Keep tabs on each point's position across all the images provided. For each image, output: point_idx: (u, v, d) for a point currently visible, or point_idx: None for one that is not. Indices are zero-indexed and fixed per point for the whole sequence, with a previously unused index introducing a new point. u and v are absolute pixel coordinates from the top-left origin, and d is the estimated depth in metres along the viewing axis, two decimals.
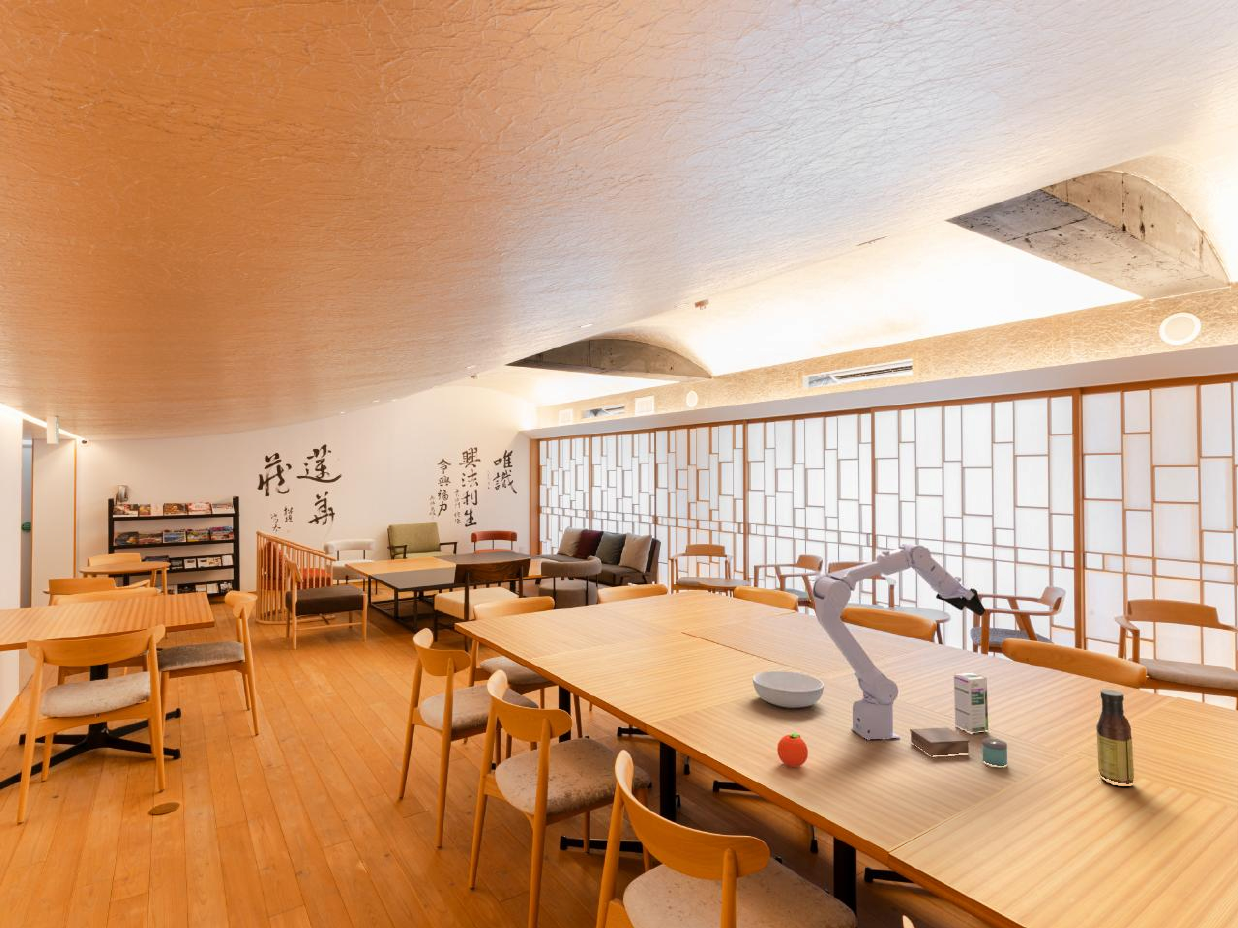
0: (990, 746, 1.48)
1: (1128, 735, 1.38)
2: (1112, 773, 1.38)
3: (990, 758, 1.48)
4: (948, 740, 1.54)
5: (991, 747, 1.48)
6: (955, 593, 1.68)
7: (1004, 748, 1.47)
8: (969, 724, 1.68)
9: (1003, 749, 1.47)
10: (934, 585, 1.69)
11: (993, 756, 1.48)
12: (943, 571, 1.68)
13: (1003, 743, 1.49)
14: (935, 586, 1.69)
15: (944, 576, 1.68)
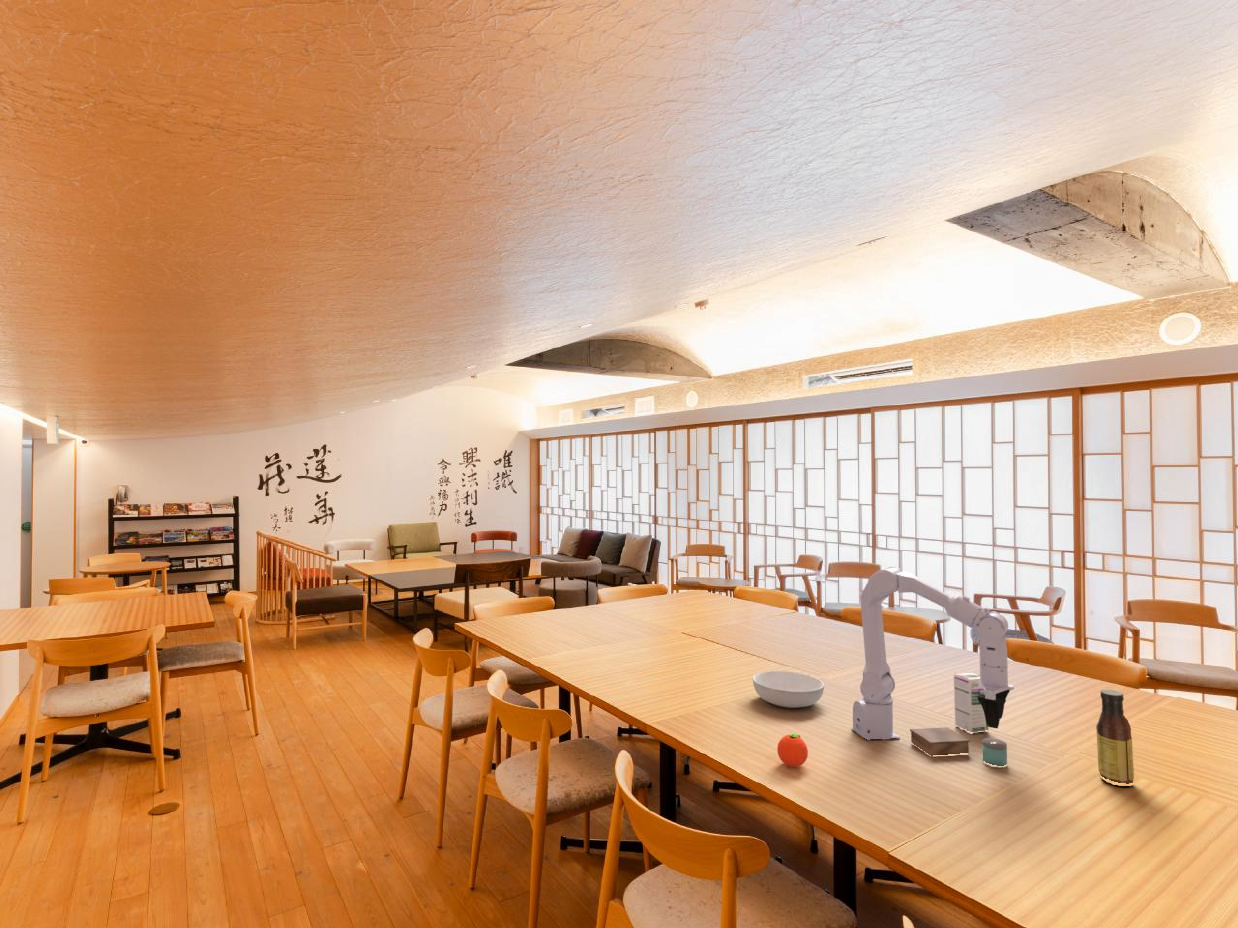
0: (990, 746, 1.48)
1: (1128, 735, 1.38)
2: (1112, 773, 1.38)
3: (990, 758, 1.48)
4: (948, 740, 1.54)
5: (991, 747, 1.48)
6: (987, 687, 1.48)
7: (1004, 748, 1.47)
8: (969, 724, 1.68)
9: (1003, 749, 1.47)
10: (980, 663, 1.51)
11: (993, 756, 1.48)
12: (998, 662, 1.48)
13: (1003, 743, 1.49)
14: (980, 664, 1.51)
15: (993, 665, 1.48)
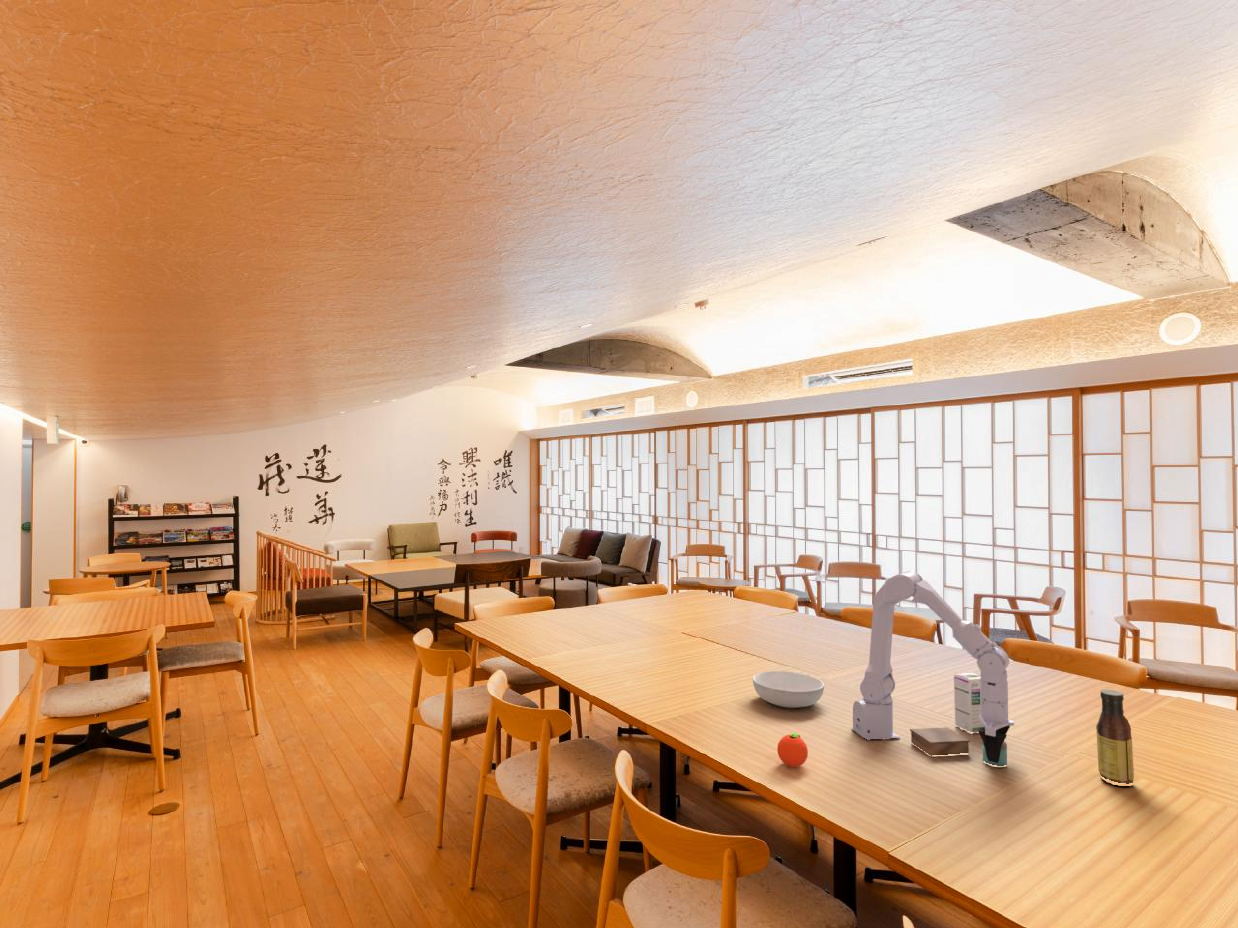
0: None
1: (1128, 735, 1.38)
2: (1112, 773, 1.38)
3: None
4: (948, 740, 1.54)
5: None
6: (988, 722, 1.48)
7: (1004, 748, 1.47)
8: (969, 724, 1.68)
9: (1003, 749, 1.47)
10: (980, 698, 1.51)
11: None
12: (999, 697, 1.47)
13: (1003, 743, 1.49)
14: (980, 699, 1.51)
15: (994, 701, 1.48)
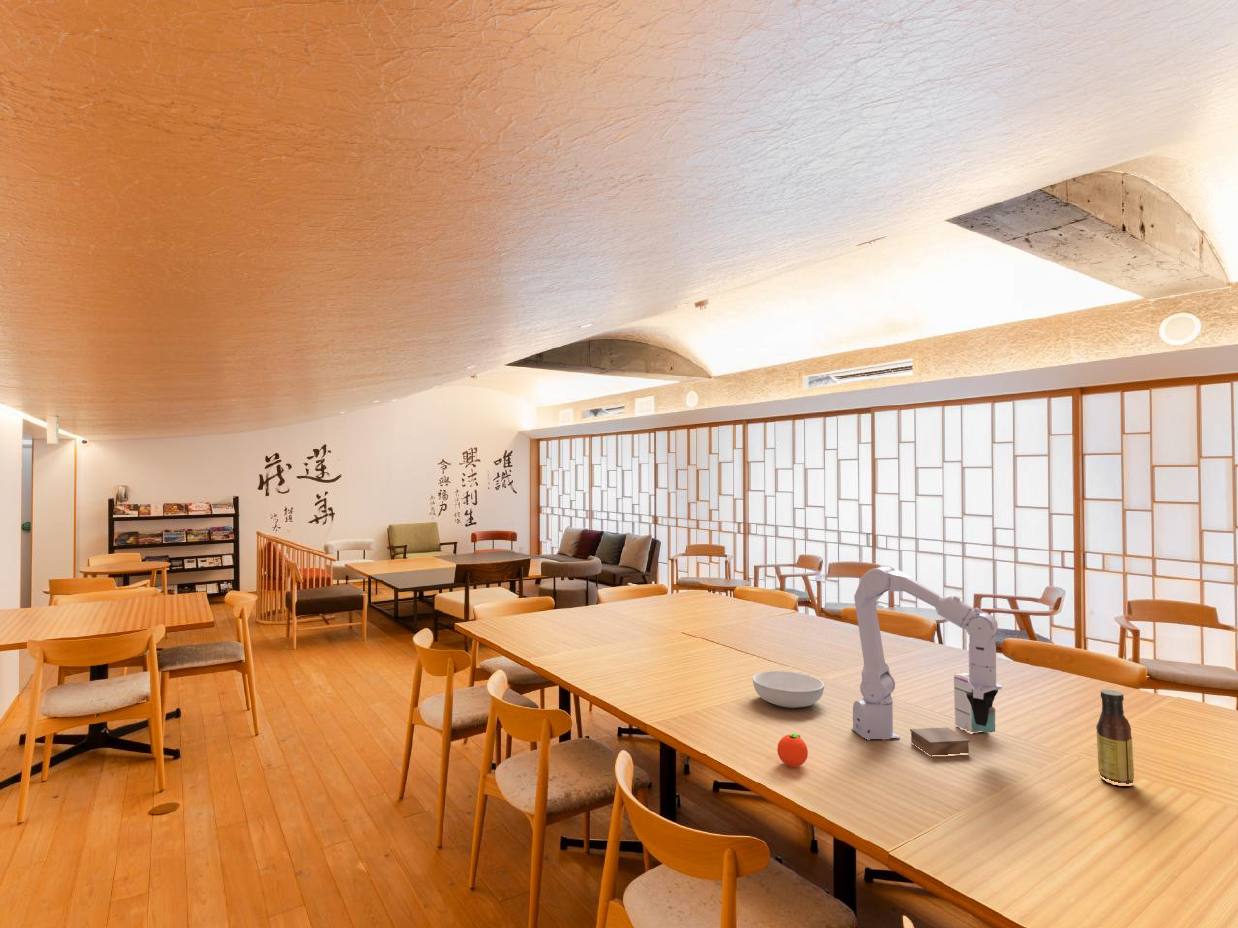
0: None
1: (1128, 735, 1.38)
2: (1112, 773, 1.38)
3: None
4: (948, 740, 1.54)
5: None
6: (976, 686, 1.50)
7: (992, 712, 1.49)
8: (969, 724, 1.68)
9: (992, 714, 1.49)
10: (969, 663, 1.52)
11: None
12: (987, 662, 1.49)
13: (992, 708, 1.51)
14: (969, 664, 1.52)
15: (982, 665, 1.49)
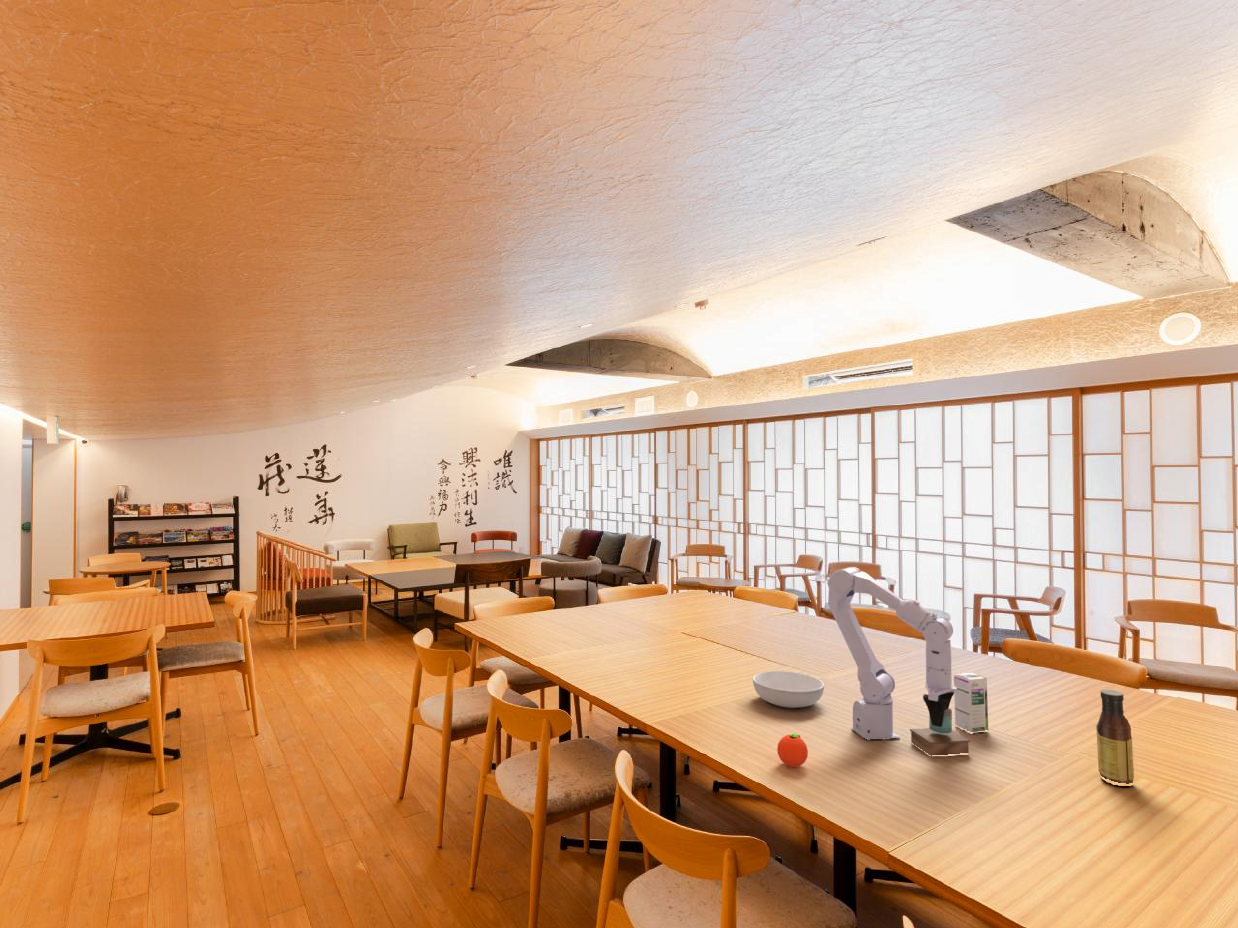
0: None
1: (1128, 735, 1.38)
2: (1112, 773, 1.38)
3: None
4: (948, 740, 1.54)
5: None
6: (932, 688, 1.56)
7: (949, 714, 1.55)
8: (969, 724, 1.68)
9: (948, 715, 1.55)
10: (926, 666, 1.59)
11: None
12: (942, 665, 1.55)
13: (948, 710, 1.57)
14: (926, 667, 1.59)
15: (938, 668, 1.55)
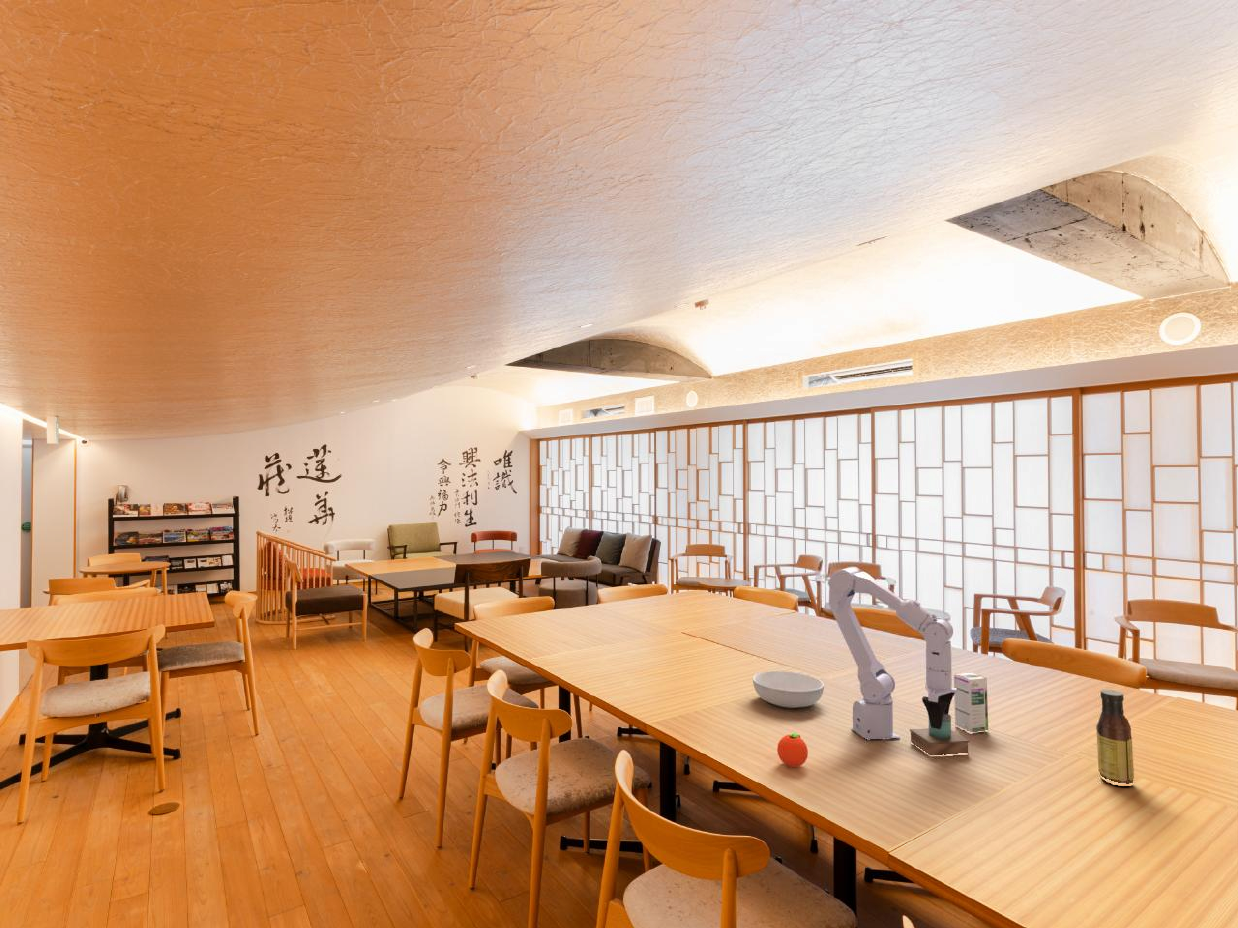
0: None
1: (1128, 735, 1.38)
2: (1112, 773, 1.38)
3: (934, 729, 1.56)
4: (948, 740, 1.54)
5: None
6: (932, 689, 1.56)
7: (948, 720, 1.55)
8: (969, 724, 1.68)
9: (947, 721, 1.55)
10: (926, 667, 1.59)
11: None
12: (942, 666, 1.55)
13: (948, 715, 1.57)
14: (926, 668, 1.59)
15: (938, 669, 1.55)
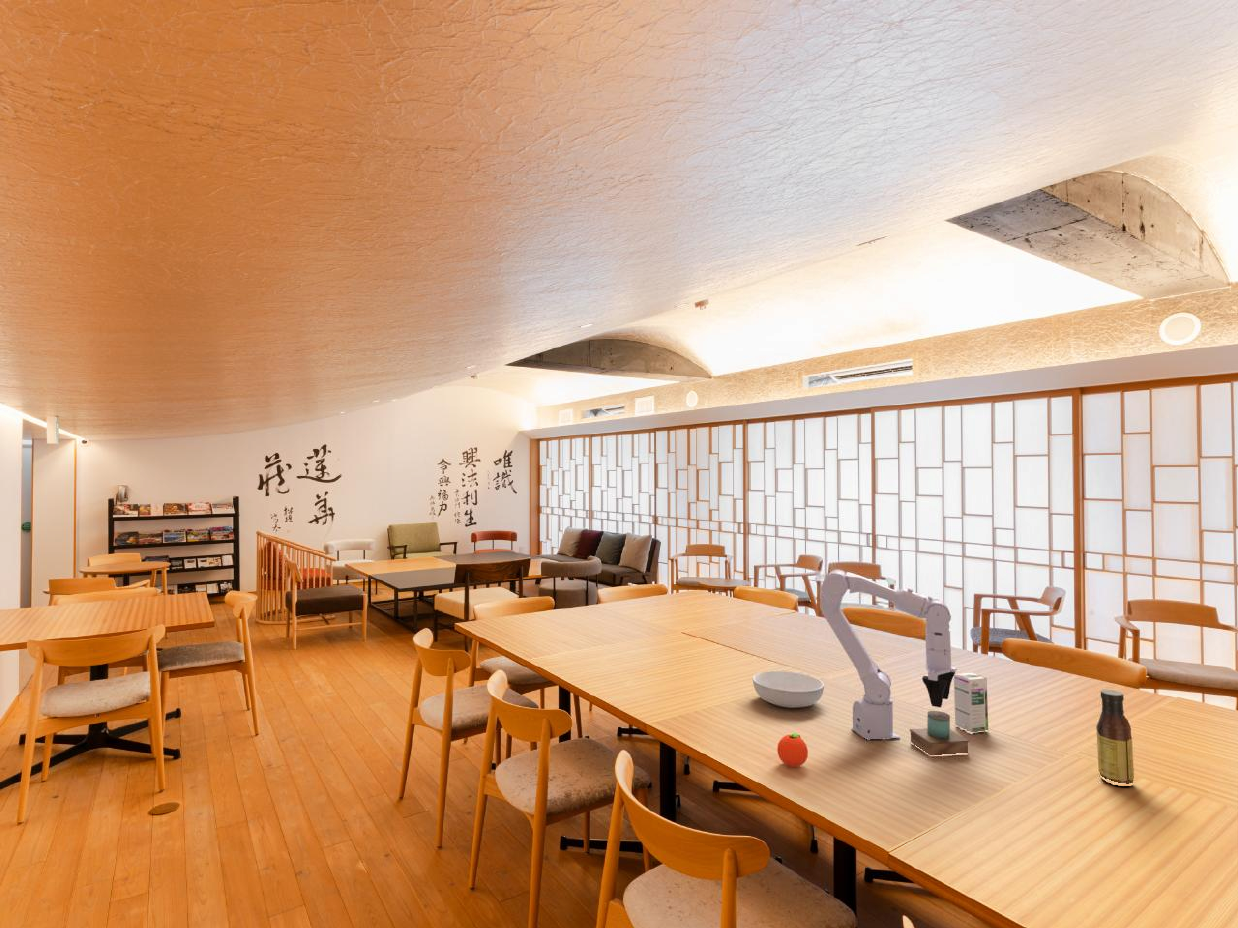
0: (933, 717, 1.56)
1: (1128, 735, 1.38)
2: (1112, 773, 1.38)
3: (933, 728, 1.56)
4: (947, 740, 1.54)
5: (934, 718, 1.56)
6: (932, 669, 1.60)
7: (946, 719, 1.55)
8: (969, 724, 1.68)
9: (946, 721, 1.55)
10: (926, 647, 1.63)
11: (936, 727, 1.56)
12: (945, 646, 1.59)
13: (947, 715, 1.57)
14: (926, 649, 1.62)
15: (941, 649, 1.59)
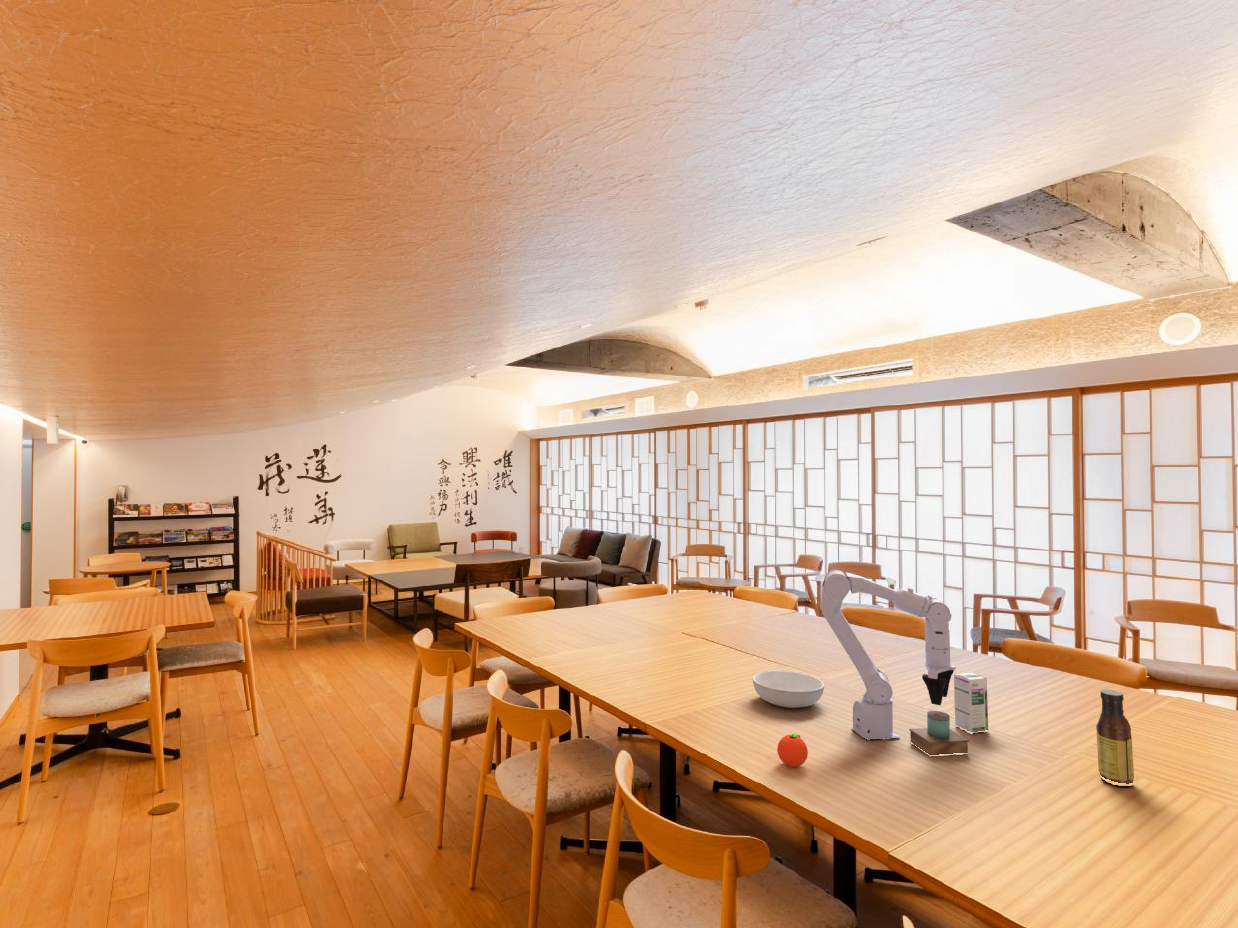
0: (934, 718, 1.56)
1: (1128, 735, 1.38)
2: (1112, 773, 1.38)
3: (933, 729, 1.56)
4: (947, 740, 1.54)
5: (934, 718, 1.56)
6: (931, 667, 1.61)
7: (946, 719, 1.55)
8: (969, 724, 1.68)
9: (946, 721, 1.55)
10: (925, 646, 1.64)
11: (936, 727, 1.56)
12: (945, 644, 1.61)
13: (946, 715, 1.57)
14: (925, 647, 1.64)
15: (941, 648, 1.61)
